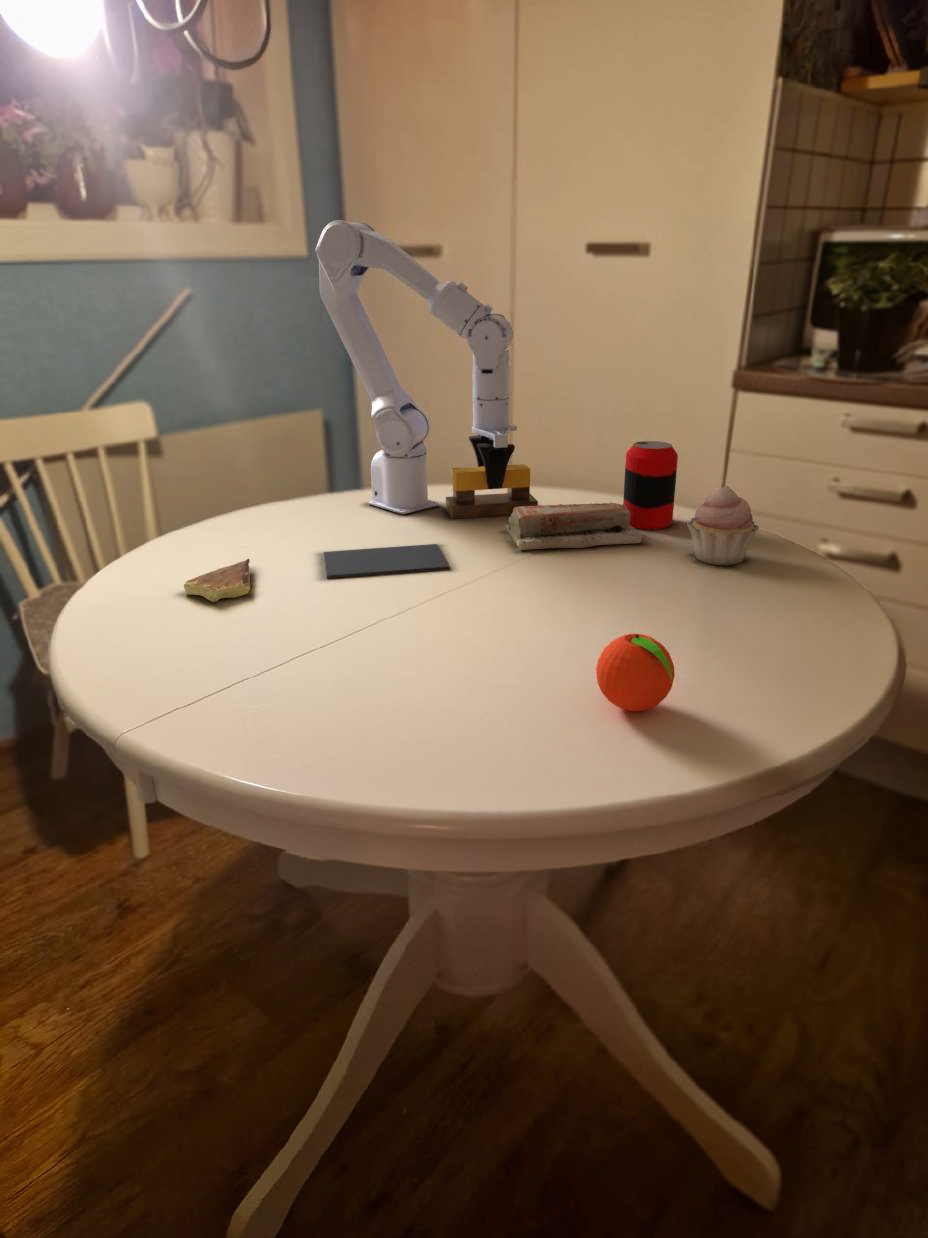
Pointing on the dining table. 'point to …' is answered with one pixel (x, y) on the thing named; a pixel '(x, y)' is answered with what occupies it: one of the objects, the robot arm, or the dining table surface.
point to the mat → (384, 561)
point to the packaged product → (571, 526)
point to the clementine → (635, 672)
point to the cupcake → (722, 528)
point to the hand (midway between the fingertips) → (491, 484)
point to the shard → (221, 582)
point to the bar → (477, 478)
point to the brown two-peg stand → (488, 503)
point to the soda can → (650, 484)
